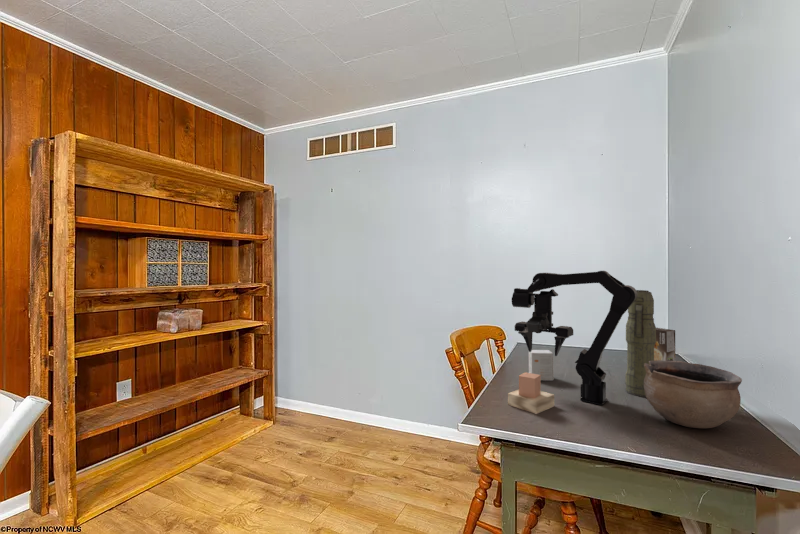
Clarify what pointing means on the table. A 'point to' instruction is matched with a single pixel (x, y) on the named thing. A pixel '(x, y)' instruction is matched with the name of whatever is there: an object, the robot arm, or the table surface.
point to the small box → (541, 363)
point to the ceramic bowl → (692, 393)
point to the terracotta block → (529, 385)
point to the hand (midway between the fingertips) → (542, 353)
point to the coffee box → (664, 345)
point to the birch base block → (531, 401)
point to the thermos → (639, 341)
